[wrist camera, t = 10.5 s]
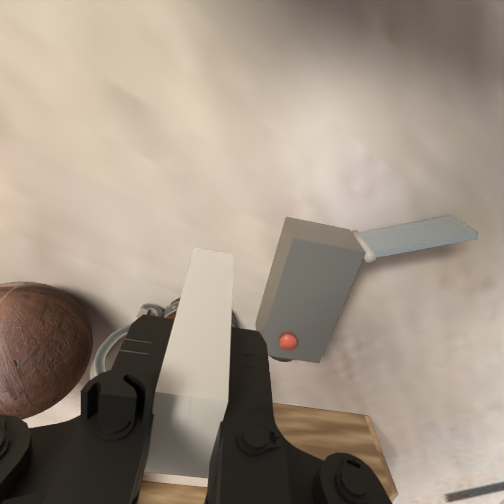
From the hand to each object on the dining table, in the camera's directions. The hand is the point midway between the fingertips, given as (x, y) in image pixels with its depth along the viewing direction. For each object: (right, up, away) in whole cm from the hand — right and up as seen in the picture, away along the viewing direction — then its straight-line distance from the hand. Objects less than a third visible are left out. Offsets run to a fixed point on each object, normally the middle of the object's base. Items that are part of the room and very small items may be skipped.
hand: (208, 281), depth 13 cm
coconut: (-25, -6, +32) cm, 41 cm away
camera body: (+8, -2, +31) cm, 32 cm away
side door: (+19, +4, +28) cm, 34 cm away
